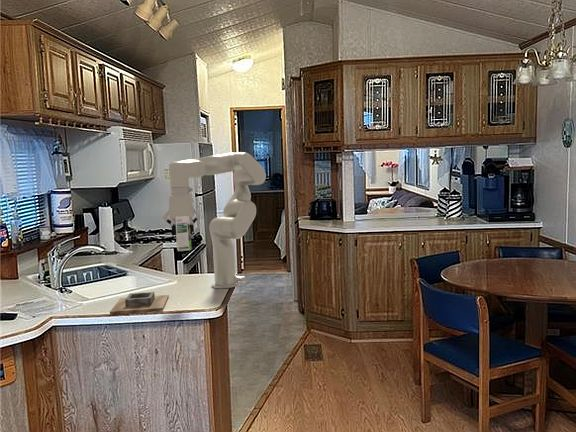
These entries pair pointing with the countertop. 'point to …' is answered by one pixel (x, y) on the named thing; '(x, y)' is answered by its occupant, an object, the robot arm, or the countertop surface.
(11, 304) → the countertop surface
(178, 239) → the syrup box
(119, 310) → the socket stand
